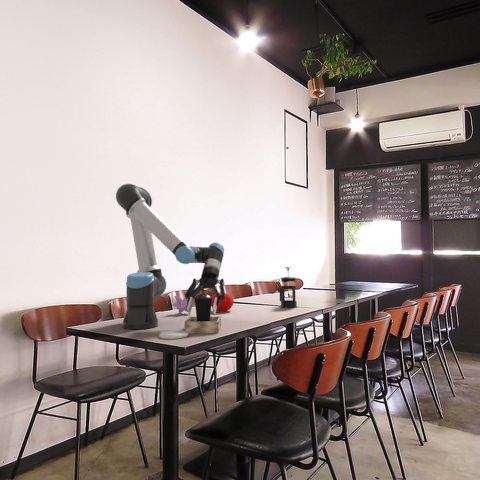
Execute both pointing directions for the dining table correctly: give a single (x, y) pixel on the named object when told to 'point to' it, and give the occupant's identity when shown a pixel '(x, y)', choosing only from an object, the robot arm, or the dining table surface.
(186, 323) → the crate
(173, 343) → the dining table surface
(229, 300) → the tomato
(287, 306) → the french press
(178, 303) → the lily
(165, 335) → the disc
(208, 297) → the drinking cup
